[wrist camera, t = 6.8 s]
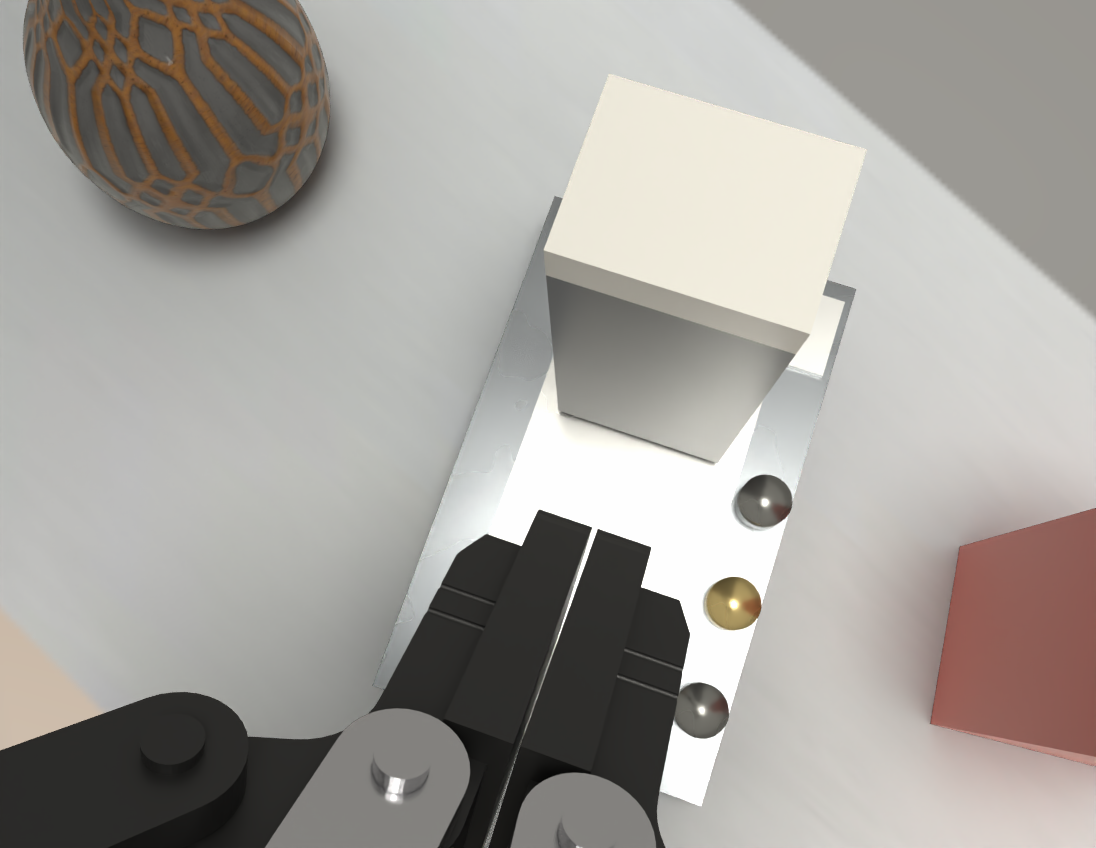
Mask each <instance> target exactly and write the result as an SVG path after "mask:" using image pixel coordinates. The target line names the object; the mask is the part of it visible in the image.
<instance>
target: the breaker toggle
mask: <svg viewBox="0 0 1096 848" xmlns="http://www.w3.org/2000/svg"><path fill="white" fill-rule="evenodd" d="M866 151H867V149H863V148H860V147H856V146H853V145H850V144H846V143H843V142H839V141H836V140H833V139H829V138H826V137H822V136H819V135H816V134H812V133H809V132H805V131H802V130H799V129H795V128H792V127H788V126H785V125H782V124H778V123H775V122H771V121H768V120H765V119H761V118H758V117H754V116H751V115H748V114H744V113H741V112H737V111H734V110H731V109H727V108H724V107H720V106H717V105H714V104H710V103H707V102H703V101H700V100H697V99H693V98H690V97H686V96H683V95H680V94H676V93H673V92H669V91H666V90H663V89H659V88H656V87H652V86H649V85H646V84H642V83H639V82H635V81H632V80H629V79H625V78H622V77H618V76H615V75H612V74H609V75H608V78H607V80H606V83H605V86H604V88H603V91H602V94H601V97H600V99H599V102H598V105H597V107H596V110H595V113H594V115H593V118H592V121H591V124H590V126H589V129H588V132H587V134H586V137H585V140H584V142H583V145H582V148H581V151H580V153H579V156H578V159H577V161H576V164H575V167H574V169H573V172H572V175H571V177H570V180H569V183H568V186H567V188H566V191H565V194H564V196H563V199H562V202H561V204H560V207H559V210H558V213H557V215H556V218H555V221H554V223H553V226H552V229H551V231H550V234H549V237H548V240H547V242H546V245H545V248H544V260H545V271H546V282H547V293H548V303H549V314H550V325H551V336H552V346H553V357H554V368H555V379H556V389H557V400H558V411H561V412H564V413H567V414H570V415H573V416H576V417H579V418H582V419H585V420H588V421H592V422H595V423H598V424H601V425H604V426H607V427H610V428H613V429H616V430H619V431H622V432H625V433H628V434H631V435H634V436H637V437H640V438H643V439H646V440H649V441H652V442H655V443H658V444H661V445H664V446H667V447H670V448H673V449H676V450H679V451H682V452H685V453H688V454H691V455H694V456H697V457H700V458H703V459H706V460H709V461H712V462H715V463H718V462H719V461H720V459H721V458H722V457H723V455H724V454H725V453H726V451H727V450H728V448H729V447H730V446H731V444H732V443H733V441H734V440H735V439H736V437H737V436H738V434H739V433H740V432H741V430H742V429H743V427H744V426H745V425H746V423H747V422H748V420H749V419H750V418H751V416H752V415H753V414H754V412H755V411H756V409H757V408H758V407H759V405H760V404H761V402H762V401H763V400H764V398H765V397H766V395H767V394H768V393H769V391H770V390H771V388H772V387H773V386H774V384H775V383H776V381H777V380H778V379H779V377H780V376H781V374H782V373H783V372H784V370H785V369H786V368H787V366H788V365H789V363H790V362H791V361H792V359H793V358H794V356H795V355H796V354H797V352H798V351H799V349H800V348H801V347H802V345H803V344H804V342H805V341H806V340H807V338H808V337H809V335H810V334H811V331H812V327H813V324H814V321H815V318H816V314H817V311H818V308H819V305H820V301H821V298H822V295H823V292H824V288H825V285H826V282H827V279H828V275H829V272H830V269H831V266H832V262H833V259H834V256H835V252H836V249H837V246H838V243H839V239H840V236H841V233H842V230H843V226H844V223H845V220H846V217H847V213H848V210H849V207H850V204H851V200H852V197H853V194H854V191H855V187H856V184H857V181H858V177H859V174H860V171H861V168H862V164H863V161H864V158H865V155H866Z"/></svg>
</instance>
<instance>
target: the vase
mask: <svg viewBox="0 0 1096 848" xmlns="http://www.w3.org/2000/svg"><path fill="white" fill-rule="evenodd" d="M23 52H24V60H25V66H26V72H27V76H28V79H29V83H30V86H31V90H32V93H33V95H34V98H35V101H36V103H37V106H38V108H39V111H40V113H41V115H42V117H43V119H44V121H45V123H46V125H47V127H48V129H49V131H50V132H51V134H52V136H53V137H54V139H55V140H56V142H57V143H58V145H59V146H60V148H61V149H62V150H63V152H64V153H65V154H66V156H67V157H68V158H69V159H70V160H71V161H72V162H73V163H74V165H75V166H76V167H77V168H78V169H79V170H80V171H81V172H82V173H83V174H84V175H85V176H86V177H87V178H88V179H90V180H91V181H92V182H93V183H94V184H95V185H96V186H98V187H99V188H100V189H101V190H103V191H104V192H105V193H106V194H108V195H109V196H111V197H112V198H113V199H115V200H116V201H118V202H119V203H121V204H122V205H124V206H126V207H128V208H129V209H131V210H133V211H136V212H138V213H140V214H142V215H144V216H147V217H149V218H151V219H154V220H157V221H160V222H164V223H167V224H171V225H175V226H179V227H185V228H193V229H222V228H230V227H235V226H239V225H243V224H246V223H249V222H252V221H255V220H257V219H259V218H262V217H264V216H266V215H268V214H269V213H271V212H273V211H274V210H276V209H277V208H279V207H280V206H282V205H283V204H284V203H286V202H287V201H288V200H289V199H290V198H291V197H292V196H293V195H295V194H296V192H297V191H298V190H299V189H300V188H301V187H302V186H303V184H304V183H305V182H306V181H307V179H308V178H309V176H310V175H311V173H312V171H313V169H314V168H315V166H316V164H317V161H318V159H319V157H320V154H321V152H322V149H323V147H324V143H325V140H326V136H327V131H328V124H329V117H330V91H329V79H328V73H327V69H326V65H325V61H324V57H323V54H322V51H321V48H320V45H319V42H318V39H317V37H316V34H315V32H314V29H313V27H312V25H311V23H310V21H309V19H308V17H307V15H306V13H305V11H304V9H303V8H302V6H301V4H300V3H299V1H298V0H29V1H28V5H27V9H26V13H25V19H24V29H23Z"/></svg>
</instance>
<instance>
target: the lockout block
mask: <svg viewBox="0 0 1096 848" xmlns="http://www.w3.org/2000/svg"><path fill="white" fill-rule="evenodd" d="M930 724H933V725H937V726H941V727H945V728H949V729H952V730H956V731H960V732H964V733H968V734H972V735H976V736H980V737H984V738H987V739H991V740H995V741H999V742H1003V743H1007V744H1011V745H1015V746H1019V747H1022V748H1026V749H1030V750H1034V751H1038V752H1042V753H1046V754H1050V755H1053V756H1057V757H1061V758H1065V759H1069V760H1073V761H1077V762H1081V763H1085V764H1088V765H1092V766H1096V508H1094V509H1091V510H1087V511H1084V512H1080V513H1077V514H1073V515H1070V516H1066V517H1063V518H1059V519H1056V520H1052V521H1049V522H1045V523H1041V524H1038V525H1034V526H1031V527H1027V528H1024V529H1020V530H1017V531H1013V532H1010V533H1006V534H1003V535H999V536H995V537H992V538H988V539H985V540H981V541H978V542H974V543H971V544H967V545H964V546H960V549H959V555H958V561H957V567H956V573H955V579H954V585H953V591H952V597H951V603H950V609H949V615H948V621H947V627H946V633H945V639H944V645H943V651H942V657H941V663H940V669H939V675H938V681H937V687H936V693H935V699H934V705H933V711H932V717H931V723H930Z"/></svg>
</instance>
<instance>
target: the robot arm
mask: <svg viewBox="0 0 1096 848" xmlns="http://www.w3.org/2000/svg"><path fill="white" fill-rule="evenodd" d="M592 528H593V527H591V526H588V525H585V524H582V523H580V522H577V521H574V520H571V519H568V518H565V517H562V516H559V515H556V514H553V513H550V512H547V511H544V510H541V509H539V510H538V511H537V513H536V515H535V517H534V519H533V522H532V524H531V526H530V528H529V530H528V533H527V535H526V537H525V539H524V542H523V544H522V546H521V545H518V544H515V543H512V542H509V541H506V540H503V539H500V538H498V537H495V536H492V535H489V534H485V535H483V536H482V537H480V538H479V539H478V540H476V541H475V542H473V543H472V544H470V545H469V546H467V547H466V548H464V549H463V550H461V551H460V552H459V553H457V554H456V556H455V558H454V560H453V562H452V564H451V566H450V568H449V570H448V571H447V573H446V575H445V577H444V579H443V581H442V583H441V586H440V588H438V590H437V592H436V594H435V596H434V598H433V600H432V601H431V603H430V605H429V608H428V611H427V613H425V615H424V617H423V618H422V620H421V622H420V624H419V626H418V628H417V630H416V632H415V633H414V635H413V637H412V639H411V641H410V643H409V645H408V647H407V649H406V650H405V652H404V654H403V656H402V658H401V660H400V662H399V664H398V665H397V667H396V669H395V671H394V673H393V675H392V677H391V679H390V680H389V682H388V684H387V686H386V688H385V690H384V692H383V694H382V696H381V697H380V699H379V701H378V702H377V704H376V705H375V707H374V708H373V709H372V710H371V712H370V713H369V714H367V715H365V716H363V717H361V718H359V719H358V720H356V721H354V722H353V723H352V724H351V725H349V726H348V727H347V728H346V729H345V730H344V731H342V732H339V733H337V734H334V735H330V736H326V737H322V738H315V739H278V738H261V737H248V736H247V731H246V729H245V727H244V725H243V722H242V721H241V720H240V718H239V717H238V715H237V714H236V713H235V712H234V711H233V710H232V709H231V708H229V707H228V706H227V705H225V704H223V703H222V702H220V701H218V700H216V699H214V698H211V697H209V696H205V695H201V694H197V693H188V692H172V693H166V694H159V695H156V696H152V697H149V698H146V699H143V700H140V701H137V702H134V703H132V704H129V705H126V706H123V707H121V708H118V709H115V710H112V711H109V712H107V713H104V714H101V715H98V716H95V717H93V718H90V719H87V720H84V721H81V722H79V723H76V724H73V725H70V726H68V727H65V728H62V729H59V730H56V731H54V732H51V733H48V734H45V735H43V736H40V737H37V738H34V739H31V740H28V741H26V742H23V743H20V744H17V745H15V746H12V747H9V748H6V749H4V750H1V751H0V848H484V845H485V842H486V839H487V836H488V834H489V831H490V828H491V825H492V822H493V820H494V817H495V814H496V811H497V808H498V805H499V803H500V800H501V797H502V794H503V791H504V789H505V786H506V783H507V780H508V777H509V775H510V772H511V769H512V766H513V763H514V761H515V758H516V755H517V752H518V755H517V758H516V761H515V764H514V768H513V771H512V774H511V777H510V780H509V784H508V787H507V790H506V793H505V796H504V800H503V803H502V806H501V809H500V812H499V816H498V819H497V822H496V825H495V829H494V832H493V835H492V838H491V841H490V845H489V848H665V846H664V843H663V840H662V838H661V835H660V831H659V827H658V823H657V803H658V797H659V791H660V786H661V781H662V776H663V771H664V766H665V761H666V756H667V751H668V746H669V741H670V736H671V731H672V726H673V721H674V716H675V711H676V706H677V698H678V695H679V690H680V685H681V680H682V675H683V674H682V672H683V669H684V665H685V660H686V655H687V650H688V645H689V640H690V635H691V634H690V631H689V628H688V624H687V621H686V618H685V615H684V611H683V608H682V605H681V602H680V600H679V599H676V598H673V597H670V596H667V595H664V594H661V593H658V592H655V591H652V590H649V589H647V588H644V587H642V583H643V579H644V576H645V572H646V568H647V565H648V561H649V557H650V553H651V549H652V547H651V546H648V545H645V544H642V543H639V542H636V541H633V540H630V539H627V538H624V537H621V536H619V535H616V534H613V533H610V532H607V531H604V530H601V529H597V532H596V534H595V537H594V540H593V543H592V546H591V548H590V551H589V554H588V557H587V560H586V562H585V565H584V568H583V571H582V574H581V576H580V579H579V582H578V585H577V588H576V591H575V593H574V596H573V599H572V602H571V605H570V607H569V610H568V613H567V616H566V619H565V621H564V618H565V615H566V612H567V609H568V605H569V602H570V599H571V596H572V593H573V590H574V586H575V583H576V580H577V577H578V574H579V570H580V567H581V564H582V561H583V558H584V555H585V551H586V548H587V545H588V542H589V539H590V535H591V532H592ZM563 621H564V624H563ZM562 624H563V627H562ZM561 627H562V630H561ZM560 630H561V633H560ZM559 633H560V635H559ZM558 636H559V638H558ZM557 639H558V641H557ZM556 642H557V644H556ZM555 645H556V647H555ZM554 648H555V650H554ZM553 651H554V652H553ZM552 654H553V655H552ZM551 657H552V658H551ZM550 660H551V661H550ZM549 662H550V664H549ZM548 665H549V666H548ZM547 668H548V669H547ZM546 671H547V672H546ZM545 674H546V675H545ZM544 676H545V678H544ZM543 679H544V680H543ZM542 682H543V683H542ZM541 685H542V686H541ZM540 688H541V689H540ZM539 690H540V692H539ZM538 693H539V695H538ZM537 696H538V697H537ZM536 699H537V700H536ZM535 702H536V703H535ZM534 704H535V706H534ZM533 707H534V709H533ZM532 710H533V711H532ZM531 713H532V714H531ZM530 716H531V717H530ZM529 718H530V720H529ZM528 721H529V723H528ZM527 724H528V725H527ZM526 727H527V728H526ZM525 730H526V731H525ZM524 733H525V734H524ZM523 735H524V737H523ZM522 738H523V740H522ZM521 741H522V742H521ZM520 744H521V745H520ZM519 747H520V748H519ZM518 749H519V751H518Z"/></svg>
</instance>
